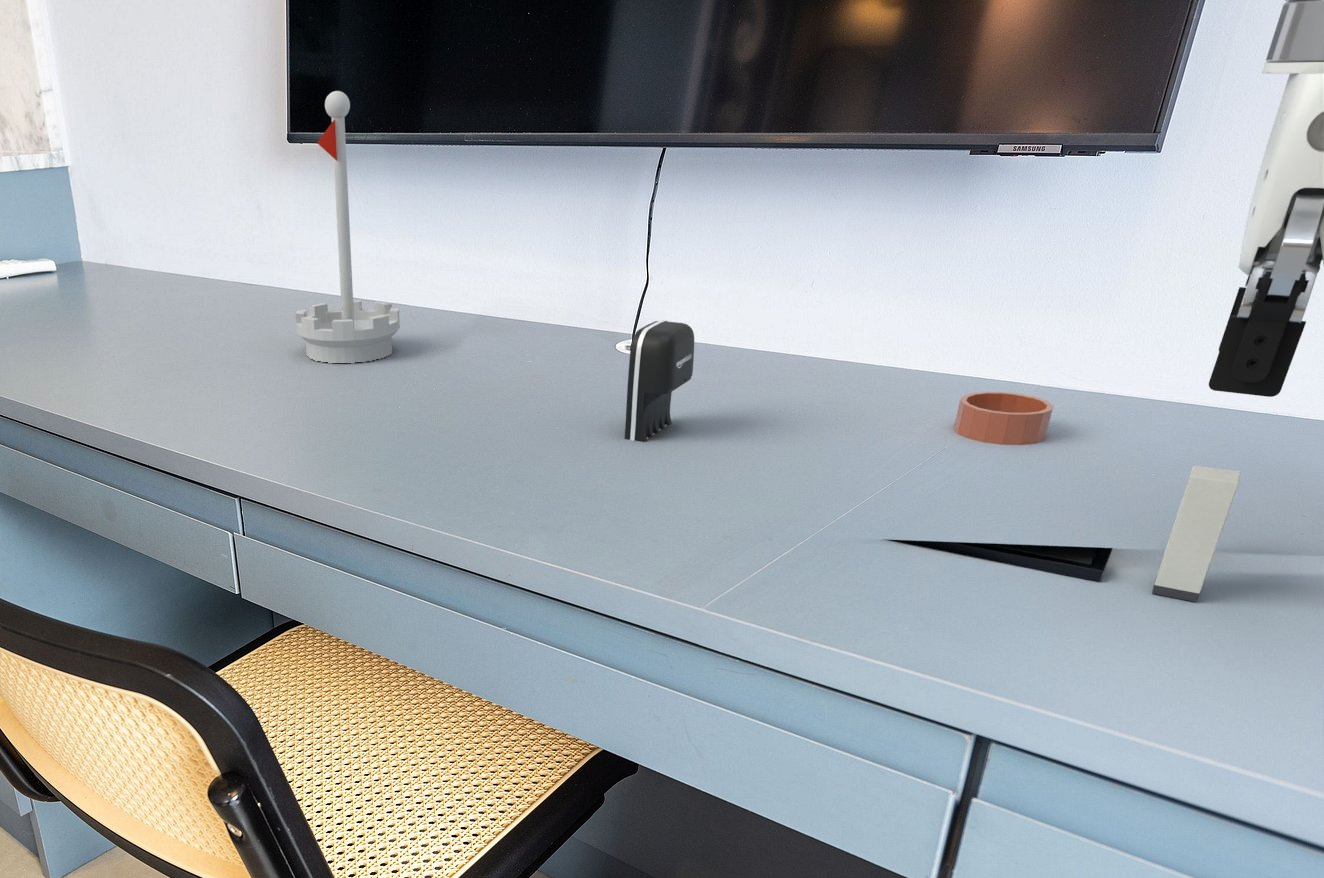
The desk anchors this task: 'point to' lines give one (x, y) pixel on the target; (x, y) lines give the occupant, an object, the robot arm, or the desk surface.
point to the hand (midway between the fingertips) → (1245, 373)
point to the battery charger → (656, 375)
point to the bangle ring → (1003, 418)
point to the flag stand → (345, 276)
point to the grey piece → (1196, 532)
